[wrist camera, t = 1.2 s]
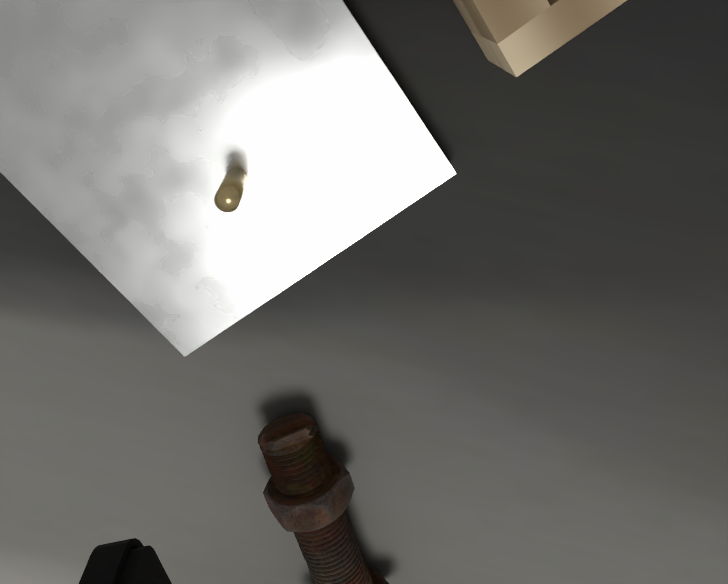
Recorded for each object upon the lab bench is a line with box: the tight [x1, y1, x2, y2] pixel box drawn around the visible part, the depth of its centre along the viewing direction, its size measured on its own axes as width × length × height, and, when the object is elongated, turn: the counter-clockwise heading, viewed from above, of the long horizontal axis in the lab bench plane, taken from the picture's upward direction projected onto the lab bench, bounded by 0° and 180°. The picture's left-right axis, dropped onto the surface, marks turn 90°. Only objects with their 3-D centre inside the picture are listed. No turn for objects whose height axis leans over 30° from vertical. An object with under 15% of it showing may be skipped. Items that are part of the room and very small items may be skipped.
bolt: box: [258, 413, 389, 584], centre depth 38 cm, size 6×5×15 cm
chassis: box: [0, 0, 456, 356], centre depth 26 cm, size 16×22×4 cm
